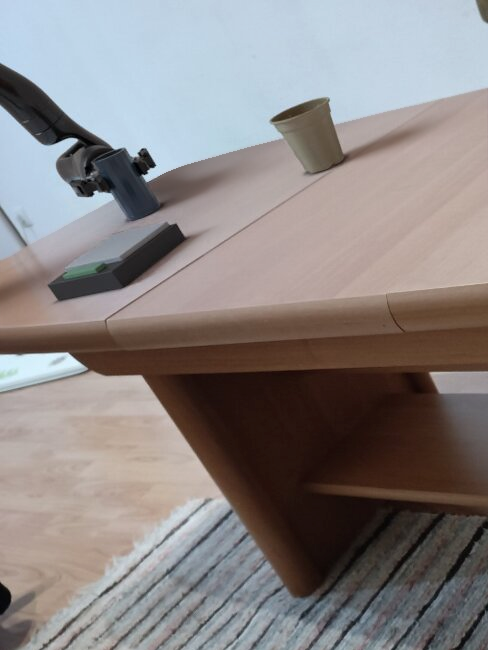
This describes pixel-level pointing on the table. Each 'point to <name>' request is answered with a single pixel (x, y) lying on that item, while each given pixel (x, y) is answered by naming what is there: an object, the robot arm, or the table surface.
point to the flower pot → (310, 134)
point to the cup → (126, 183)
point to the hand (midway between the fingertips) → (124, 176)
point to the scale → (116, 260)
